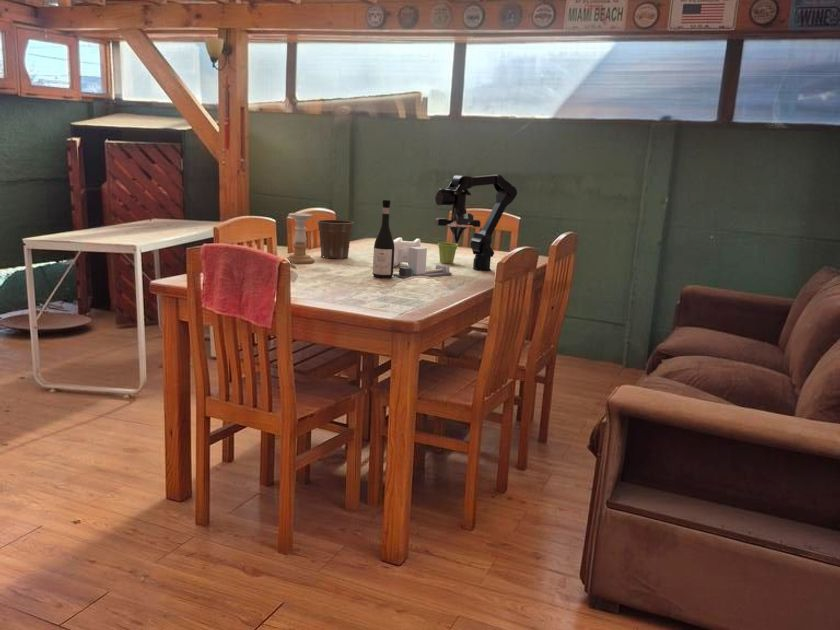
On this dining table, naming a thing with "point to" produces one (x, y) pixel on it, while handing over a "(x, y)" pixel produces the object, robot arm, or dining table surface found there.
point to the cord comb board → (438, 271)
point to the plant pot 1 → (335, 237)
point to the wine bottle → (384, 247)
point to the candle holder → (300, 239)
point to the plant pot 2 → (447, 252)
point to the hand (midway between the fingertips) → (456, 242)
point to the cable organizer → (403, 250)
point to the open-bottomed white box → (417, 259)
